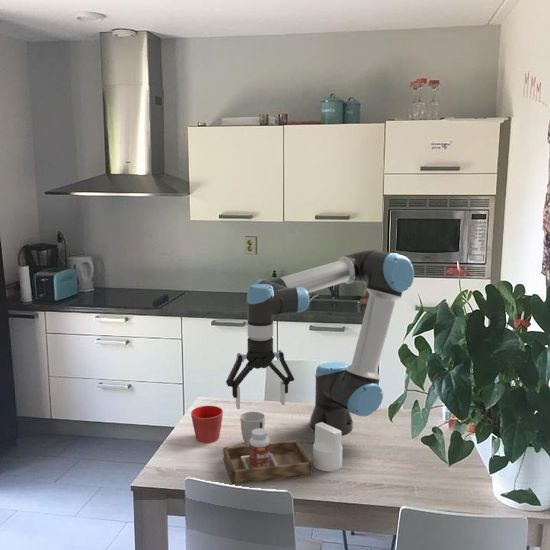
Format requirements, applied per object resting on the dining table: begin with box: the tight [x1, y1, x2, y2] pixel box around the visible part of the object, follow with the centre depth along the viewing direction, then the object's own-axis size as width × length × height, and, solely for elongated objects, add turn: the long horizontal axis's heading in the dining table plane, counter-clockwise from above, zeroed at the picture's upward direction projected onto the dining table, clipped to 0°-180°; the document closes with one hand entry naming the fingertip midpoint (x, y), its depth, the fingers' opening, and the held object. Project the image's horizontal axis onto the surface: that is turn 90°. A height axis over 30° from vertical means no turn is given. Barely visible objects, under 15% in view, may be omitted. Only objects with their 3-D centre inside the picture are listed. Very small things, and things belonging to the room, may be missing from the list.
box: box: [222, 440, 313, 485], centre depth 188 cm, size 24×16×4 cm, turn 103°
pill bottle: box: [249, 428, 271, 468], centre depth 187 cm, size 6×6×11 cm
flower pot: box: [190, 405, 224, 444], centre depth 207 cm, size 11×11×10 cm
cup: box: [239, 411, 266, 445], centre depth 203 cm, size 8×8×10 cm
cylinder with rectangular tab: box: [312, 422, 343, 472], centre depth 190 cm, size 9×9×12 cm
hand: (260, 405), depth 185 cm, fingers open, 13 cm apart
